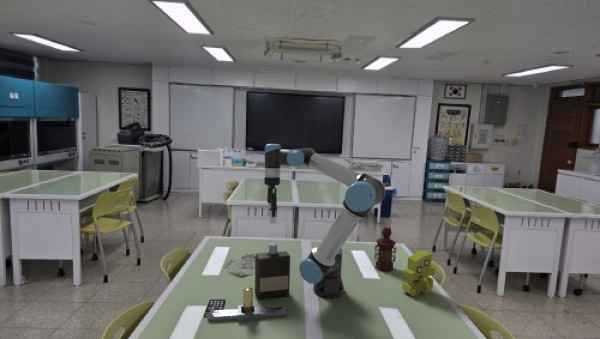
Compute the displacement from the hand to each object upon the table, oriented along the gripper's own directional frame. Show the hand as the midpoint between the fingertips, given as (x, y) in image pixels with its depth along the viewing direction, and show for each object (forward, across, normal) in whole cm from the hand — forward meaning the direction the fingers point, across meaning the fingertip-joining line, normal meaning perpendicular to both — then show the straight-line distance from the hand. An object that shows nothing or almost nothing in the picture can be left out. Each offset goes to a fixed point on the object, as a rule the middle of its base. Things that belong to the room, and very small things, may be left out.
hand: (271, 219), depth 179 cm
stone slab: (+35, -31, -8) cm, 47 cm away
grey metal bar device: (+35, +26, -12) cm, 45 cm away
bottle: (+35, +8, 0) cm, 36 cm away
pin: (+35, +26, -12) cm, 45 cm away
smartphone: (+35, +18, -26) cm, 47 cm away
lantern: (+35, -15, +68) cm, 78 cm away
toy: (+35, +15, +72) cm, 81 cm away
